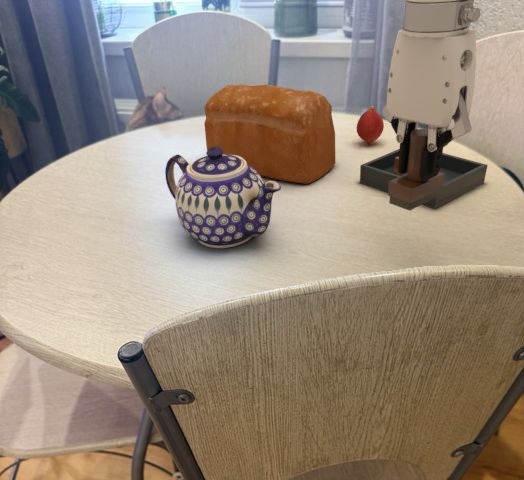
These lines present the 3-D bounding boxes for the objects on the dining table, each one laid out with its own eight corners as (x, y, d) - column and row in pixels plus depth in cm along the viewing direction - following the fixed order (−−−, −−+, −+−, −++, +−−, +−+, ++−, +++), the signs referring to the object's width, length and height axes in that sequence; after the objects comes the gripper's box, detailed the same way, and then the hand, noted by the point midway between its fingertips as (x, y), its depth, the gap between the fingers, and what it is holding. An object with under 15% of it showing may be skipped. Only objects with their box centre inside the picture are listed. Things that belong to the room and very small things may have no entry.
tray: (484, 183, 99) (487, 164, 97) (434, 209, 92) (437, 189, 90) (408, 161, 110) (410, 144, 108) (359, 182, 103) (360, 165, 101)
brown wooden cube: (416, 172, 103) (417, 156, 101) (405, 177, 101) (407, 161, 99) (403, 168, 105) (405, 153, 103) (393, 173, 103) (394, 157, 101)
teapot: (146, 232, 94) (126, 148, 85) (208, 201, 102) (195, 121, 93) (249, 275, 80) (238, 180, 71) (310, 236, 88) (308, 146, 79)
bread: (240, 147, 124) (233, 74, 114) (340, 164, 112) (342, 82, 102) (203, 168, 116) (191, 91, 106) (307, 188, 103) (304, 103, 93)
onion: (354, 148, 118) (355, 110, 113) (358, 139, 122) (359, 102, 117) (380, 148, 117) (383, 110, 112) (383, 139, 121) (386, 102, 116)
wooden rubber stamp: (419, 188, 78) (426, 122, 72) (442, 195, 75) (452, 128, 69) (387, 203, 75) (392, 136, 69) (409, 211, 72) (417, 142, 66)
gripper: (520, 17, 58) (487, 181, 69) (401, 8, 68) (389, 153, 79) (479, 28, 54) (451, 199, 66) (360, 17, 64) (354, 167, 76)
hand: (417, 172), depth 73 cm, fingers closed on wooden rubber stamp, 3 cm apart
